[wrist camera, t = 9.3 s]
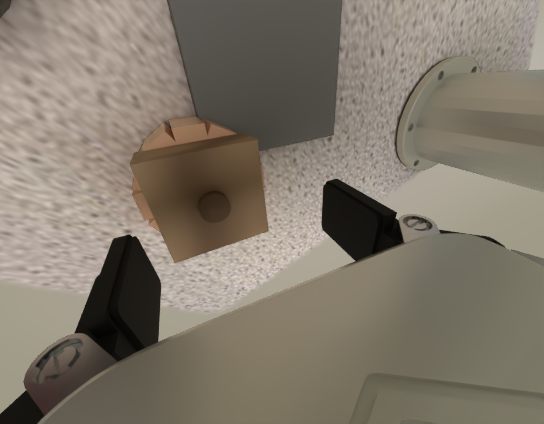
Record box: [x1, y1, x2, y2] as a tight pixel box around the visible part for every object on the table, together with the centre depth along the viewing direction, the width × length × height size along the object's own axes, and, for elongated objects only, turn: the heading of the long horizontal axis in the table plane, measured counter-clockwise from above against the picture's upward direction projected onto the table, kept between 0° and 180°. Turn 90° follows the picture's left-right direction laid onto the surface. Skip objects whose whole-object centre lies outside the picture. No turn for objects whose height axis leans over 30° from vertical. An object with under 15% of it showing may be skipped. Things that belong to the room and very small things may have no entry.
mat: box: [167, 0, 342, 151], centre depth 16 cm, size 12×12×1 cm
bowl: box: [132, 116, 265, 231], centre depth 17 cm, size 9×9×4 cm
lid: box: [130, 132, 268, 263], centre depth 14 cm, size 7×7×3 cm
